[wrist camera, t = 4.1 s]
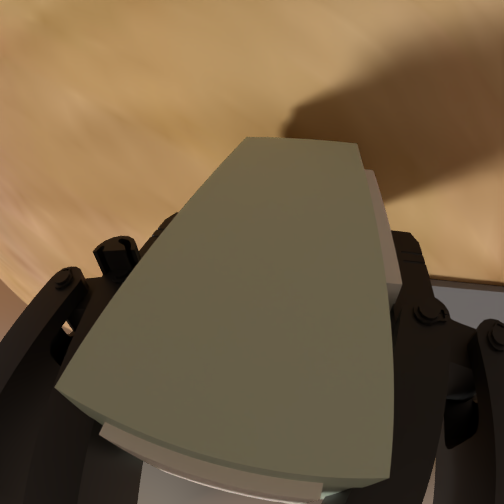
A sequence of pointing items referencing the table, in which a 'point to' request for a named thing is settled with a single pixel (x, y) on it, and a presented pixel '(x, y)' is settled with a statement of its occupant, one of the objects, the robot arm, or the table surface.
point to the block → (254, 332)
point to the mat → (470, 301)
